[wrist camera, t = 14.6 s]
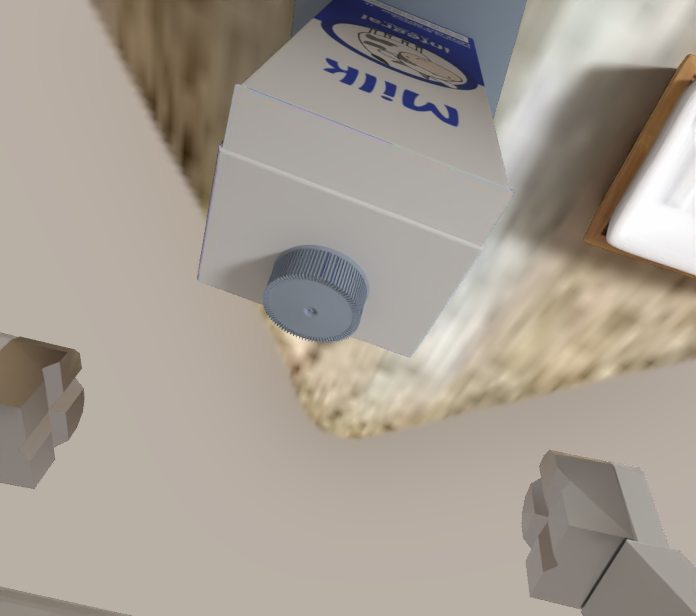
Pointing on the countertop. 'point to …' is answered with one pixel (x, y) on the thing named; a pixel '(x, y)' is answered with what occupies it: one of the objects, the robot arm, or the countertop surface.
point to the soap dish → (657, 186)
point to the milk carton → (356, 178)
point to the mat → (457, 29)
